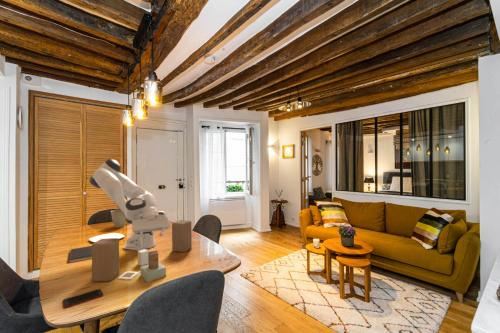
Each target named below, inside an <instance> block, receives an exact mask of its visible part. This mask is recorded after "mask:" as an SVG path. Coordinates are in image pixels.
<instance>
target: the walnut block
mask: <svg viewBox="0 0 500 333" xmlns="http://www.w3.org/2000/svg"><path fill="white" fill-rule="evenodd" d="M158 262H159V252H158V250H152V251H149V252H148V264H147V265H149V269H154V268H159V265H158Z"/></svg>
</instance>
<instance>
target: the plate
mask: <svg viewBox="0 0 500 333" xmlns="http://www.w3.org/2000/svg"><path fill="white" fill-rule="evenodd" d="M125 237H126V236H125V235H124V234H122V233H117V232H110V233H105V234H99V235H96V236H92V237H90V238H88V240H89V241H90V242H92V243H95V242H97V241H98V240H100V239H106V238H118V239H119V240H120V239H124V238H125Z"/></svg>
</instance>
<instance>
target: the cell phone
mask: <svg viewBox="0 0 500 333" xmlns="http://www.w3.org/2000/svg"><path fill="white" fill-rule="evenodd" d="M103 296H104V292H103V291H102V289H101V288H98V289H94V290H91V291H88V292H84V293H81V294H77V295H75V296H70V297H67V298H64V299H63V300H62V306H63V309H68V308H71V307H75V306H78V305H80V304H83V303H88V302H89V301H93V300H97V299H100V298H102V297H103Z"/></svg>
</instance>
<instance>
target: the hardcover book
mask: <svg viewBox="0 0 500 333" xmlns="http://www.w3.org/2000/svg"><path fill="white" fill-rule="evenodd" d="M86 260H92V245H89V246H83V247H77V248H76V247H75V248H71V249H70V250H69V255H68V264H69V263H76V262H81V261H86Z"/></svg>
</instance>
